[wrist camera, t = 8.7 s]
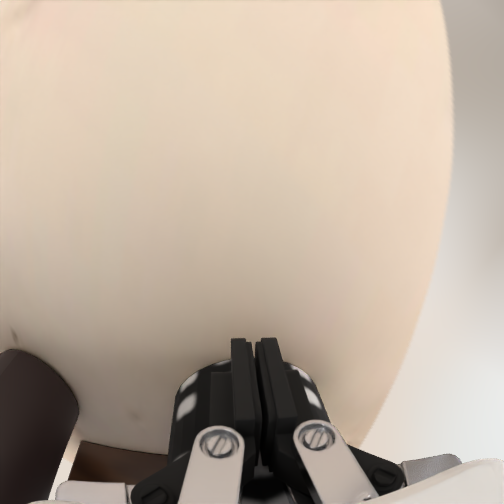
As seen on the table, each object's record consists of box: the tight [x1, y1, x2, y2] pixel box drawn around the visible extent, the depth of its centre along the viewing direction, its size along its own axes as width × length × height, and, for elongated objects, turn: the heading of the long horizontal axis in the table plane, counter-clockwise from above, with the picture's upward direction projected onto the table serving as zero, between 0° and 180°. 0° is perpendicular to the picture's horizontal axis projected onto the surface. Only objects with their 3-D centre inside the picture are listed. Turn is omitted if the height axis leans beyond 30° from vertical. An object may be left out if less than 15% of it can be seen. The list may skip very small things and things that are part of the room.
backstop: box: [68, 441, 168, 485], centre depth 13 cm, size 14×2×6 cm, turn 87°
